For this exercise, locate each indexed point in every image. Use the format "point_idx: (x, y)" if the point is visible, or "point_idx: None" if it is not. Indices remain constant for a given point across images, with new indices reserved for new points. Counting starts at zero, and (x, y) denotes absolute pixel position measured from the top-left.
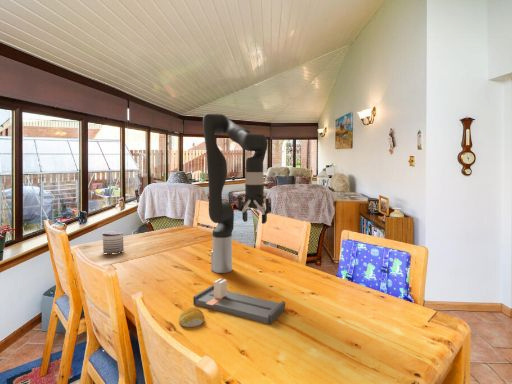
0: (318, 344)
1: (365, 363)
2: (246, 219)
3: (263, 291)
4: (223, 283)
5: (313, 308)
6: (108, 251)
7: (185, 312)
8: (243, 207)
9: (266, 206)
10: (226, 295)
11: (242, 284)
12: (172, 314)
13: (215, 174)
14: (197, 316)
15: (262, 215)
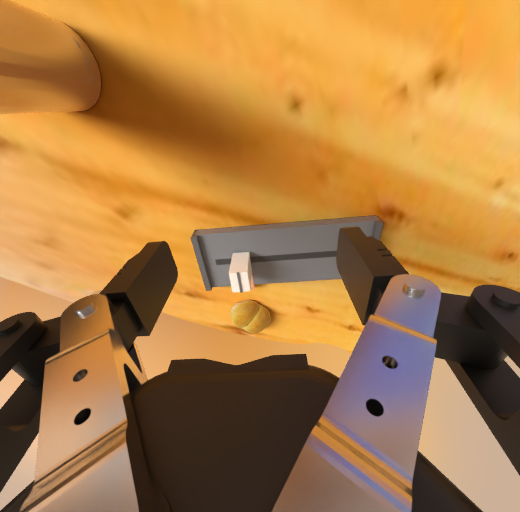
0: (447, 279)
1: (511, 285)
2: (164, 262)
3: (293, 156)
4: (249, 279)
5: (439, 176)
6: None
7: (242, 326)
8: (12, 345)
9: (515, 447)
10: (247, 249)
11: (216, 147)
12: (212, 314)
13: None
14: (265, 325)
15: (368, 318)
